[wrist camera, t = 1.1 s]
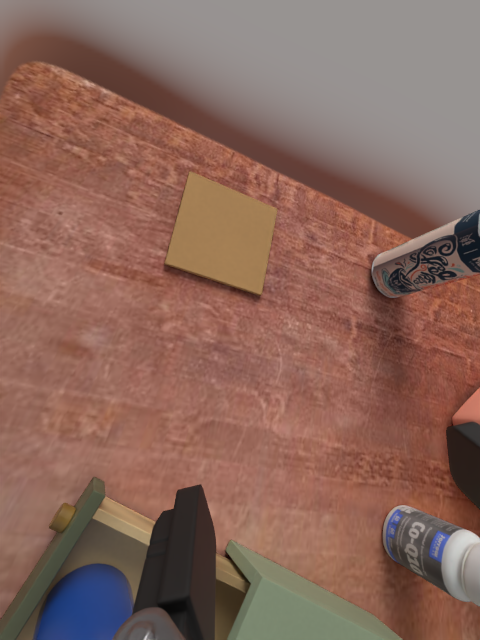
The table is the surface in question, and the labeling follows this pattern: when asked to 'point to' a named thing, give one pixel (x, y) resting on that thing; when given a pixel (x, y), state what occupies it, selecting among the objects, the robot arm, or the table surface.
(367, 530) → the table surface
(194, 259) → the coaster
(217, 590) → the drawer
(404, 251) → the beer can
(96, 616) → the blue can
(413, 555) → the pill bottle
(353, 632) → the drawer unit
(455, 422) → the teapot
